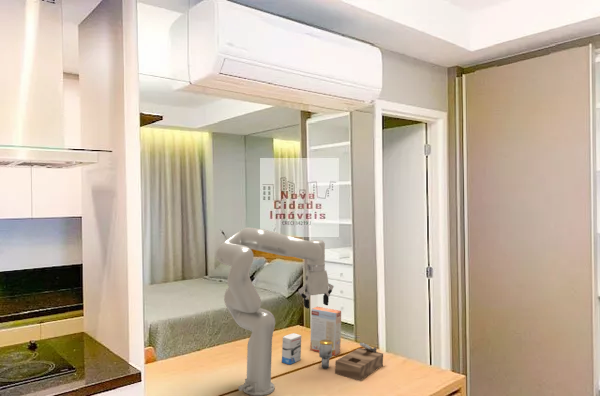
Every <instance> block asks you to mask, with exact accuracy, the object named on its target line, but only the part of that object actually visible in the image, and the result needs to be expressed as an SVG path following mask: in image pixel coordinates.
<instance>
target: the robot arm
mask: <svg viewBox="0 0 600 396" xmlns="http://www.w3.org/2000/svg"><path fill="white" fill-rule="evenodd" d="M325 246H326V243H325V241H324V240H323V239H322V240H321V239H310V240H306V239H301V238H298V237H295V236H294V237H293V236H290V235H287V234H284V233H279V232H274V231H272V230H271V231H270V230H267V229H264V228H255V227H249V226H248V227H244V228H242V229H240V230H238V231H237V232H235V233H234V234H233V235H231V236H230V237H229V238H227V239H226V240H224V241H223V242H221V244H219V246H218V247H217V249H216V252H215V255H216V256H215V258H216V259H217V262H219V263H220V264H222V265H225V266H228V267H229V266H230V269H229V272H228V276H227V282H226V284H227V286H228V288H227V289H226V291H224V295H223V297H224V299H223V300H224V304H225V306H226V308H227V310H228V312H229V313H230V315H231V317H232V319H233V320H234V322H235V324H237V325H238V326H239V327H240V328H242V329H244V330H247V331H249V332H251V334H250V337H249V339H248V341H247V353H246V354H247V355H246V356H247V357H246V360H247V361H246V379H244V383H243V384H241V385H239V386H238V388H237V389H238V391H239V392H242V391H243V392H244V394H245V393H246V394H247V395H250V396H266V395H269V394H272V393H273V392H274V391H275V384H274V383H273V382H272V358H273V357H272V352H273V348H272V347H273V346H272V345H273V337H274V335H273V334H274V330H275V325H276V318H275V316H274V314H273V313H272V312H271V311H269V309H265V308H262V307H261V306H262V301H261V296H260V294H259V293H258V291H257V289H256V288H255V286H254V283H253V281H252V278H250V270H251V268H252V265H253V262H254V252H253V251H254V250H255V251H259V252H264V253H267V254H274V255H277V256H283V257H291V258H292V257H293V258H296V259H300V260H307V265H306V266H305V270H307V271H306V273H305V278H304V285H303V286H302V287H301V288H299V289H298V293H299V295H300V297H302V299H303V306H304V308H306V309H307V310H308V309H310V299H309V298H310V297H311V296H317V295H322V296H323V297H322V303H323V304H324V305H325V306H328V305H329V300H330V299H329V297H330V296H331V293H332V291H333V289H334V287H335V286H334V285H333V284H331V283H329V277H328V272H327V270H326V268H325V267H326V266H325V265H326V263H325V262H326V260H325V259H326V257H325V256H326V254H325V250H326V248H325Z"/></svg>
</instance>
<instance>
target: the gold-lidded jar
mask: <svg viewBox="0 0 600 396" xmlns="http://www.w3.org/2000/svg"><path fill="white" fill-rule="evenodd" d="M318 355H319V358H321V365H320V366H321V369H324V370H328V369H330V359H331V358H333V355H332V341H331V340H320V349H319V352H318Z"/></svg>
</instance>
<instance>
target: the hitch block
mask: <svg viewBox="0 0 600 396" xmlns="http://www.w3.org/2000/svg"><path fill="white" fill-rule="evenodd" d="M372 348H373V352H372V351H368V350H366V349H365V348H363V347H359V348H357V349H354V350H353V351H351V352H349V353H347V354H346V355H344V356H342V357H340V358H338V359H336V360H335V363H334V374H336V375H339V376H343V377H345V378H349V379H352V380H356V381H358V382H359V381H361V380H364V379H365V378H366V377H368V376H369V375H370V374H372V373H374V372H375V371H377V370H378V369H380V368H381V367H383V366H384V365H383V364H384V353H382V352H378V351H377V347H375V346H374V347H372Z"/></svg>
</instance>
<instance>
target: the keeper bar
mask: <svg viewBox="0 0 600 396" xmlns="http://www.w3.org/2000/svg"><path fill="white" fill-rule="evenodd" d="M359 345H360V346H361V348H363V349H364V348H365V349H366V350H368V351H372V352H373V348H374V347H372V346H370V345H368V344H367V343H364V342H359Z"/></svg>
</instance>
